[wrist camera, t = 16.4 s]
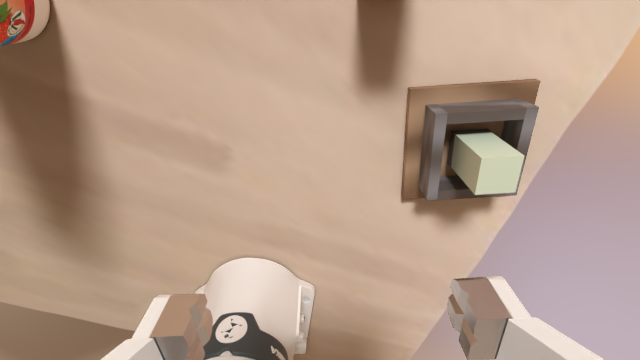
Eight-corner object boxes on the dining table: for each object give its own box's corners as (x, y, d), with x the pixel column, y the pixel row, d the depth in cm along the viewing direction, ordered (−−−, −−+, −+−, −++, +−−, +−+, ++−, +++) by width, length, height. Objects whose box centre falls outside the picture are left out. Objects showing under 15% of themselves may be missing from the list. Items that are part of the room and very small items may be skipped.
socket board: (508, 188, 43) (528, 207, 39) (401, 195, 43) (410, 214, 39) (534, 78, 36) (561, 87, 32) (408, 87, 36) (419, 97, 32)
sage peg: (485, 127, 38) (525, 155, 31) (479, 159, 40) (515, 193, 32) (450, 129, 38) (481, 158, 31) (446, 161, 40) (474, 195, 33)
